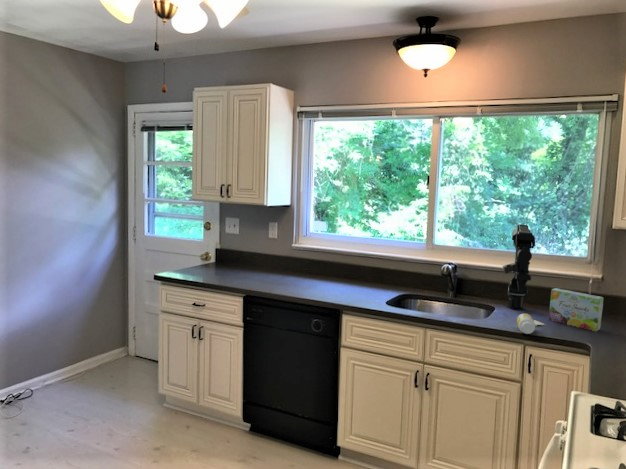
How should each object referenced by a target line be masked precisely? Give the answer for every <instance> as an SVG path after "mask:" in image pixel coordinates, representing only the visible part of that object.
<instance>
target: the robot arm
mask: <svg viewBox="0 0 626 469" xmlns="http://www.w3.org/2000/svg"><path fill="white" fill-rule="evenodd" d="M511 241H512V245H513V247H514V249H515V257H514V258H515V260H514V262H512V263H509V264H504V265H502V268H503V271H504V272H503V273H504V274H508V273H512V274H513V277H512V278H511V280H510V282H509V283H508V289H507V296H508V301H507V305H506V307H507V308H509V309H512V310H525V309H526V308H525V307H524V300H525V299H526V298H527V297H528V291H529V288H528V286H527V282H528V281H530V282H531V280H532V276H531V274H530V271H529V269H530V268H529V267H530V264H531V262H530V260H532V258H533V254H532V253H531V249H534V247H536V237H535V235H534V233H533V232H531V230H530V229H529V225H527V224H517V227H515V228H514V229H512V234H511ZM524 298H525V299H524Z"/></svg>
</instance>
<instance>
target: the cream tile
mask: <svg viewBox="0 0 626 469" xmlns="http://www.w3.org/2000/svg"><path fill="white" fill-rule="evenodd" d="M533 321H534V323H535V327H537V325H541V326H546V325H545V323H543V322H540V321H538V320H535V319H533Z"/></svg>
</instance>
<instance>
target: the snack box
mask: <svg viewBox="0 0 626 469" xmlns="http://www.w3.org/2000/svg"><path fill="white" fill-rule="evenodd" d="M603 308H604V297H603V296H598V295H592V294H588V293H583V292H578V291H573V290H568V289H563V288H558V287H554V288H551V292H550V301H549V310H548V322H549V321H550V322H554V321H555V323H558V322H559V324H562V323H563V324H562V325H566V324H567V326H570V325H572V327H574V326H576V327H575V328H579V327H580V328H579V329H583V328H584V329H583V330H587V329H588V331H591V330H592V331H591V332H595V333H597V332H598V331H600V330H601V325H602V324H601V323H602V315H603Z"/></svg>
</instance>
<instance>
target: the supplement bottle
mask: <svg viewBox="0 0 626 469" xmlns="http://www.w3.org/2000/svg"><path fill="white" fill-rule="evenodd" d="M533 320H534V318H533V317H532V315H531V314H529V313H521V314H518V316H517V317H516V324H517V326H518V329H519V331H520V332H521V333H523V334H526V335H528V334H529V335H531V334H532V333H533V332H534V331H535V329H536V326H535V323H534V321H533Z"/></svg>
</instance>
